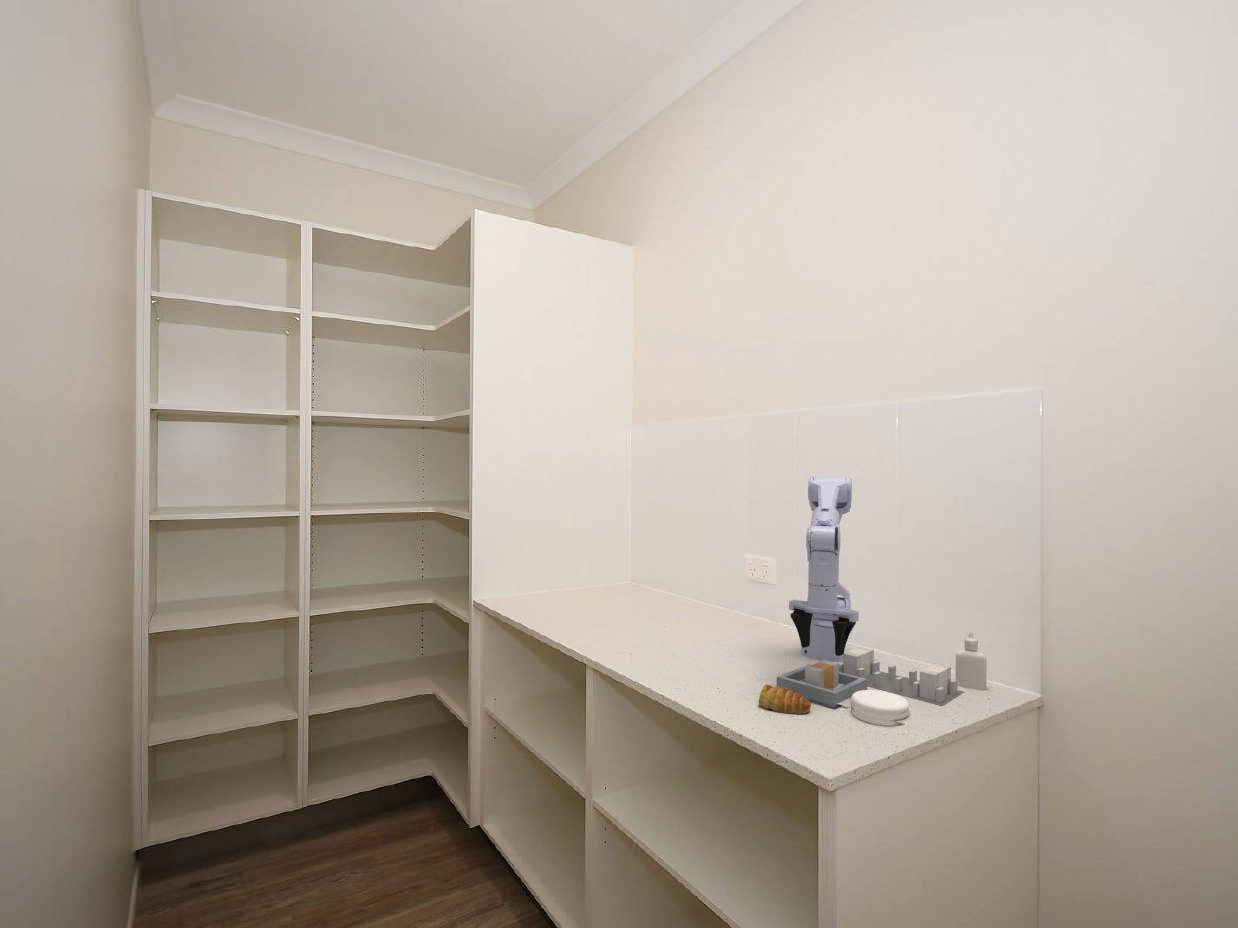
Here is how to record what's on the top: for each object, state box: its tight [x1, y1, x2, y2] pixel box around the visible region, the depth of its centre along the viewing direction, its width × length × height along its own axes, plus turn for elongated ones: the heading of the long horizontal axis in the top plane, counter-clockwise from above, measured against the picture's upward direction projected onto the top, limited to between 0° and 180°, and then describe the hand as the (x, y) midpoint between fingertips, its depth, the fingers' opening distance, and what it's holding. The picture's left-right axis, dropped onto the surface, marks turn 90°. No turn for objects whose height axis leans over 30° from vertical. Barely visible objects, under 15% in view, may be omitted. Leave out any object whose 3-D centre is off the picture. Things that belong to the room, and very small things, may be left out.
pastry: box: [758, 683, 812, 715], centre depth 121 cm, size 9×7×4 cm
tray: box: [776, 664, 868, 710], centre depth 130 cm, size 13×13×3 cm
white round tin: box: [850, 689, 911, 727], centre depth 118 cm, size 10×10×4 cm
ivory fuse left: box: [842, 646, 875, 676], centre depth 139 cm, size 3×8×5 cm, turn 133°
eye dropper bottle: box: [955, 632, 988, 691], centre depth 132 cm, size 4×6×12 cm
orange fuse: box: [804, 660, 840, 690], centre depth 130 cm, size 3×8×5 cm, turn 133°
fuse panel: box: [838, 660, 965, 707], centre depth 133 cm, size 23×12×4 cm, turn 43°
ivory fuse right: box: [919, 663, 952, 701], centre depth 127 cm, size 3×8×5 cm, turn 133°
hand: (822, 650), depth 130 cm, fingers open, 7 cm apart
